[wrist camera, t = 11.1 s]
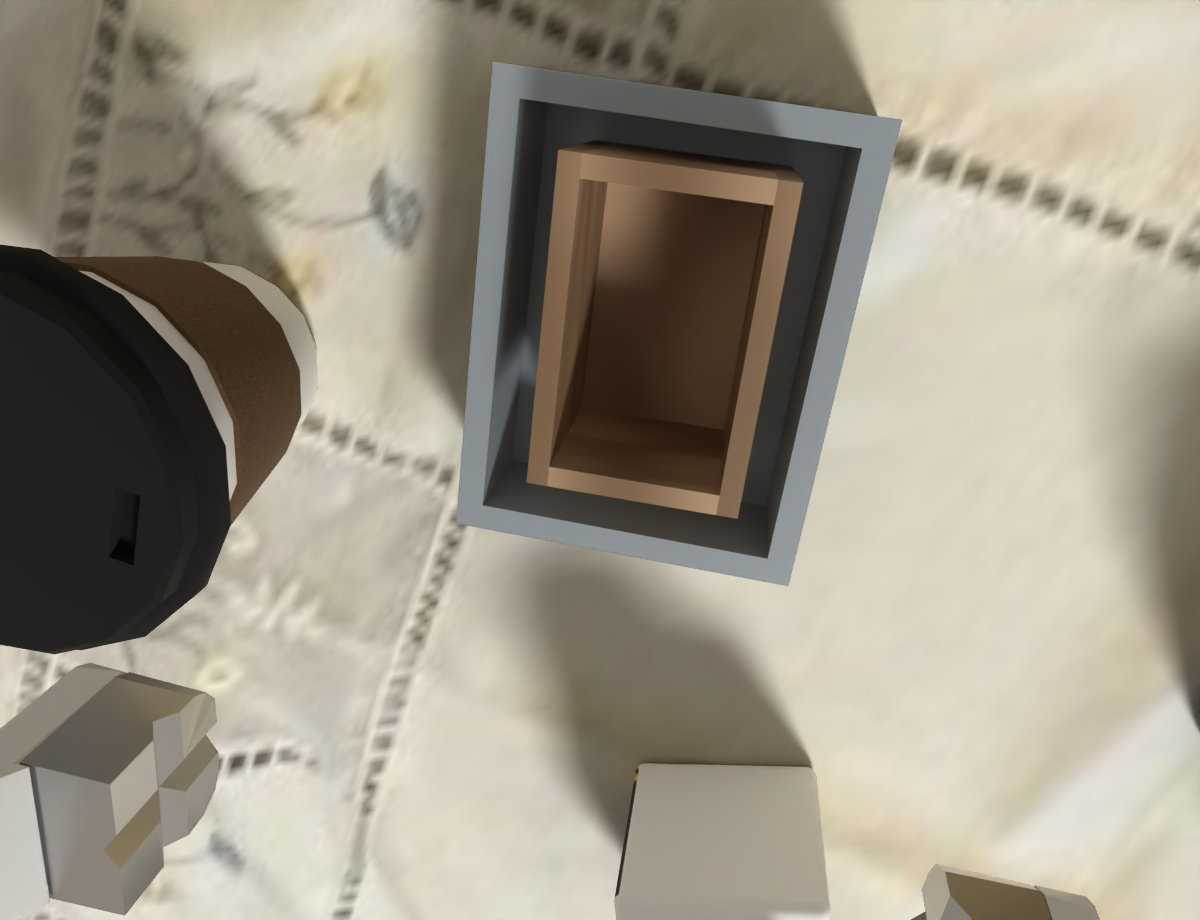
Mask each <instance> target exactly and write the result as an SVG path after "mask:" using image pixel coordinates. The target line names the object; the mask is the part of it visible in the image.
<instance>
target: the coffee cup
mask: <svg viewBox="0 0 1200 920" xmlns="http://www.w3.org/2000/svg"><path fill="white" fill-rule="evenodd" d="M317 388H318V381H317V347H316V344H315V342H314V340H313V337H312V335H311V332H310V330H309V327H308V325H307V323H306V320H305V318H304V315H303V314H302V313H301V312H300V311H299V310H298V309H297V307H296V306H295V305H294V304H293V303H292V302H291V301H290V300H289V299H288V297H287V296H286V295H285V294H284V293H283V292H282V291H281V290H280V289H279V288H278V287H276V286H275V285H273V284H272V283H270V282H268V281H266V280H264V279H262V278H261V277H259V276H257V275H255V274H253V273H252V272H250V271H248V270H246V269H244V268H242V267H241V266H235V265H227V264H219V263H211V262H197V261H189V260H181V259H173V258H165V257H157V256H153V257H53V256H51V255H49V254H47V253H45V252H44V251H42V250H39V249H31V248H23V247H15V246H7V245H0V645H5V646H11V647H16V648H22V649H28V650H33V651H39V652H45V653H51V654H58V653H63V652H67V651H72V650H84V649H89V648H93V647H98V646H103V645H107V644H112V643H117V642H122V641H126V640H131V639H136V638H140V637H145V636H147V635H148V634H149V633H150V632H151V631H153V630H154V629H155V628H156V627H157V626H159V625H160V624H161V623H162V622H164V621H165V620H166V619H167V618H168V617H170V616H171V615H172V614H173V613H174V612H176V611H177V610H178V609H179V608H181V607H182V606H183V605H184V604H185V603H187V602H188V601H189V600H190V599H191V598H193V597H194V596H195V595H196V594H197V593H199V592H200V591H201V590H202V589H203V588H204V587H206V586H207V584H208V581H209V578H210V576H211V573H212V571H213V568H214V566H215V563H216V561H217V558H218V556H219V553H220V551H221V548H222V545H223V543H224V540H225V538H226V535H227V533H228V530H229V528H230V526H231V524H232V523H233V522H234V520H235V519H236V518H237V516H238V515H239V514H240V513H241V511H242V510H243V509H244V507H245V506H246V505H247V503H248V502H249V501H250V499H251V498H252V497H253V495H254V494H255V493H256V491H257V490H258V489H259V487H260V486H261V485H262V483H263V482H264V481H265V479H266V478H267V477H268V476H269V474H270V473H271V472H272V470H273V469H274V468H275V466H276V465H277V464H278V462H279V461H280V460H281V458H282V457H283V456H284V454H285V453H286V451H287V449H288V447H289V444H290V442H291V439H292V437H293V434H294V432H295V431H296V430H297V429H298V427H299V426H300V425H301V423H302V422H303V421H304V419H305V418H306V415H307V413H308V410H309V408H310V406H311V403H312V401H313V398H314V396H315V393H316V391H317Z"/></svg>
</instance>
